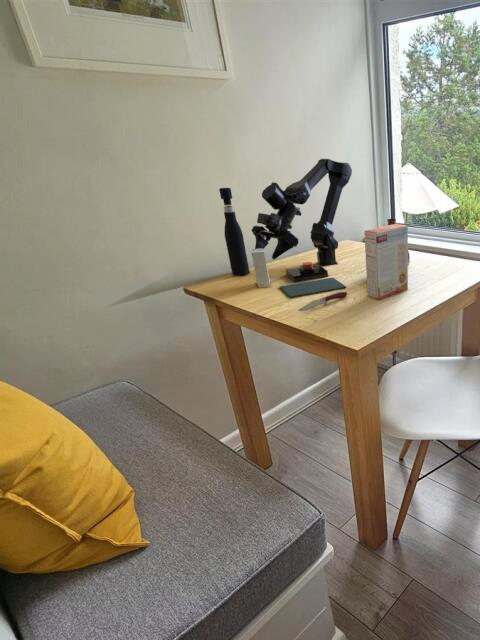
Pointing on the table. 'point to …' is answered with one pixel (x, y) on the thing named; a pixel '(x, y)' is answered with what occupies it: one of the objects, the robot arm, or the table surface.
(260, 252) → the cosmetic box
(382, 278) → the cracker box
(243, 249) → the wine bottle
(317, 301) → the knife
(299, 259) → the table surface
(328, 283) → the mat
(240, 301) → the table surface
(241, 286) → the table surface
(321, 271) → the control block
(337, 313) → the table surface
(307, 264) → the button
